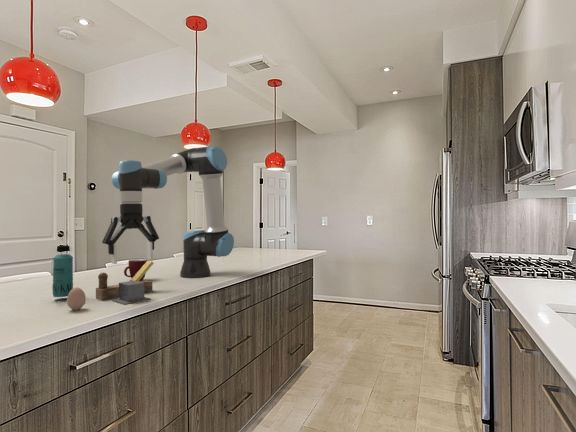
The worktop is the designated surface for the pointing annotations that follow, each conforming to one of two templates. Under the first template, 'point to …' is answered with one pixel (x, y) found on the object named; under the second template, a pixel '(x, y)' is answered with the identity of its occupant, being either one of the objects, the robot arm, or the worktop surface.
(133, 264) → the mug
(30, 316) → the worktop surface
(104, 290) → the plane body
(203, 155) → the robot arm
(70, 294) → the egg
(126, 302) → the pad
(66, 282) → the beverage bottle
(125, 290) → the grey block
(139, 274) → the lever
